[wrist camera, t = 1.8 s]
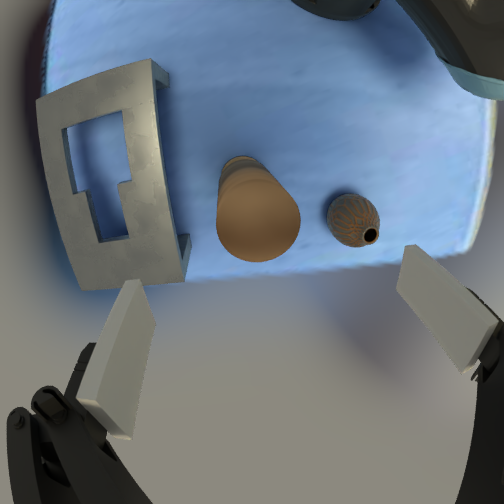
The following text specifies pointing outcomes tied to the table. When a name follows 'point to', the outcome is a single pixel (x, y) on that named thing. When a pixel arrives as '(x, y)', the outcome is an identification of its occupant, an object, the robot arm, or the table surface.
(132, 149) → the keyhole plate
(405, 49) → the table surface
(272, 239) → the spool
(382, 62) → the table surface
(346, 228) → the vase
